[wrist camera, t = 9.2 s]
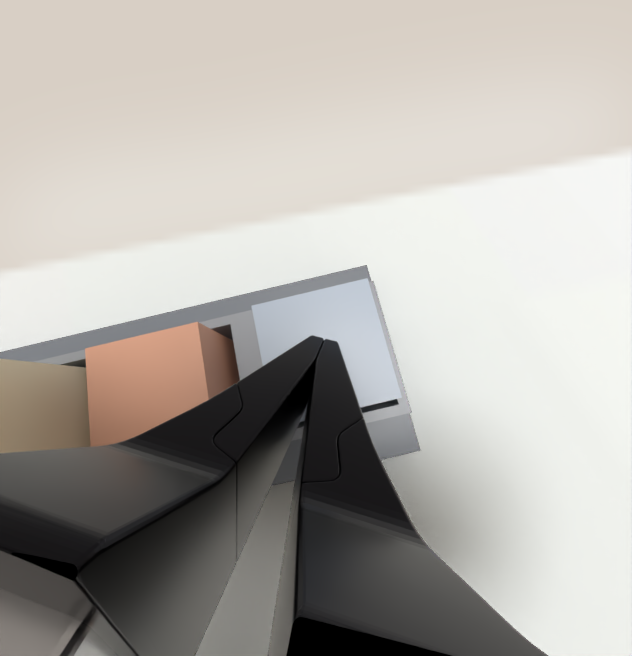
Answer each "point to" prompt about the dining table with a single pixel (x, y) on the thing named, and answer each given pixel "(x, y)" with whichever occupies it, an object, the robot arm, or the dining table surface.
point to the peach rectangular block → (154, 379)
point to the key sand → (42, 406)
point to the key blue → (333, 334)
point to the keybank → (247, 356)
